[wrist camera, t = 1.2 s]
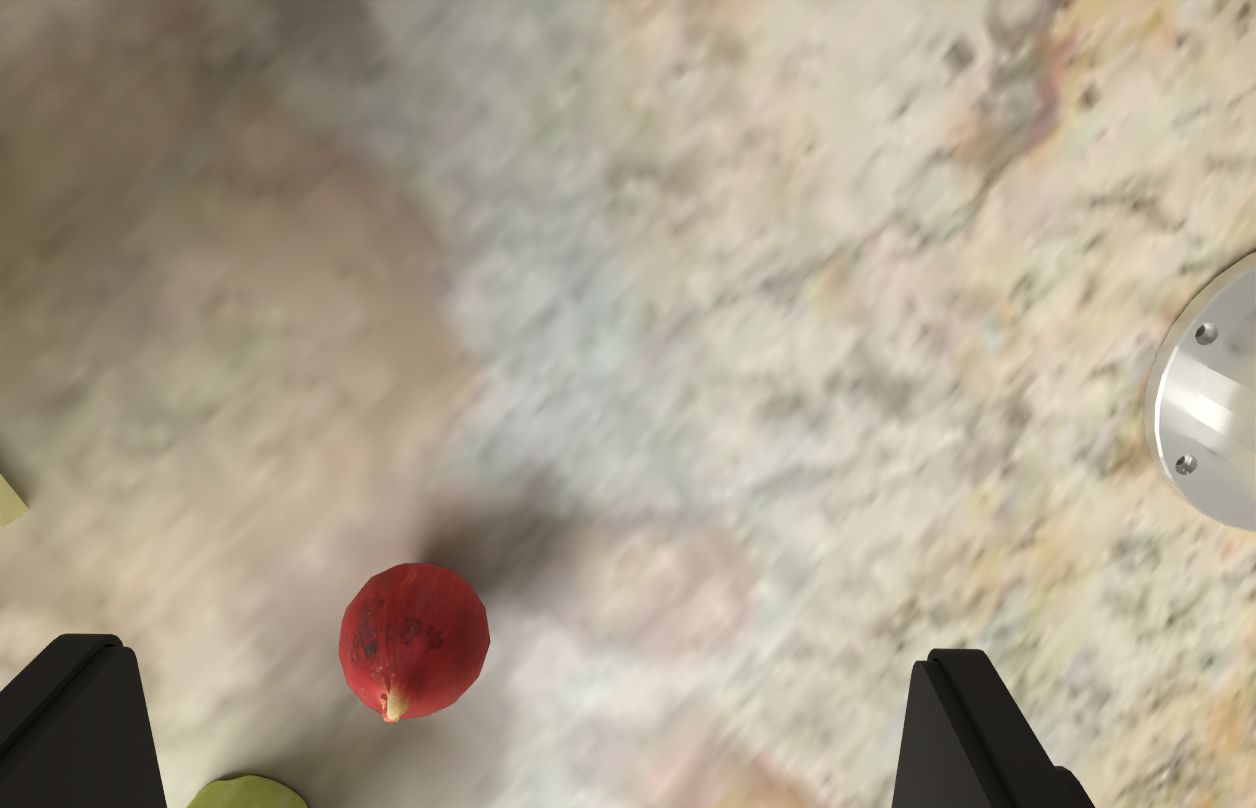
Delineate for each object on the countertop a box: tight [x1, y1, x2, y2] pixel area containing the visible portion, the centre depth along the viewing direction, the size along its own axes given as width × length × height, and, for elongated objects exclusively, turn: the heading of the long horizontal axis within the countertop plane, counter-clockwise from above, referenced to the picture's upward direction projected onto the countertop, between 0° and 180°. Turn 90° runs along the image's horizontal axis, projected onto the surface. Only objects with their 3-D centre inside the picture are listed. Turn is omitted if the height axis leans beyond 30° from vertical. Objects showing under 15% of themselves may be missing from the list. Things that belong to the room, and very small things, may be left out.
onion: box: [339, 563, 490, 723], centre depth 36 cm, size 6×6×8 cm
